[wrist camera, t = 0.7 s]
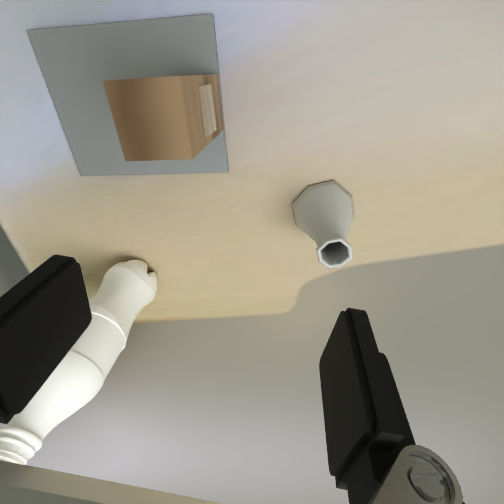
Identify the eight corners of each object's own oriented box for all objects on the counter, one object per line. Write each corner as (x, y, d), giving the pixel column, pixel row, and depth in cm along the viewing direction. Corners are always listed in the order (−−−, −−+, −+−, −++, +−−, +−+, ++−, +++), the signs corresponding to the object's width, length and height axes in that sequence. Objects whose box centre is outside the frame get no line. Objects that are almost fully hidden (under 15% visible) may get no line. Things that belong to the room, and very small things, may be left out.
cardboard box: (220, 74, 28) (182, 75, 18) (225, 129, 30) (195, 159, 20) (167, 77, 28) (102, 80, 18) (177, 131, 31) (125, 161, 21)
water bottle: (172, 281, 43) (63, 484, 22) (139, 299, 45) (13, 496, 24) (137, 245, 40) (-27, 439, 19) (105, 266, 43) (-71, 458, 22)
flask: (310, 245, 37) (317, 296, 29) (281, 200, 35) (280, 242, 26) (364, 218, 35) (389, 265, 26) (337, 168, 32) (356, 203, 23)
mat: (213, 15, 26) (212, 13, 25) (228, 170, 33) (227, 172, 33) (30, 30, 28) (26, 30, 27) (83, 174, 35) (80, 176, 35)
